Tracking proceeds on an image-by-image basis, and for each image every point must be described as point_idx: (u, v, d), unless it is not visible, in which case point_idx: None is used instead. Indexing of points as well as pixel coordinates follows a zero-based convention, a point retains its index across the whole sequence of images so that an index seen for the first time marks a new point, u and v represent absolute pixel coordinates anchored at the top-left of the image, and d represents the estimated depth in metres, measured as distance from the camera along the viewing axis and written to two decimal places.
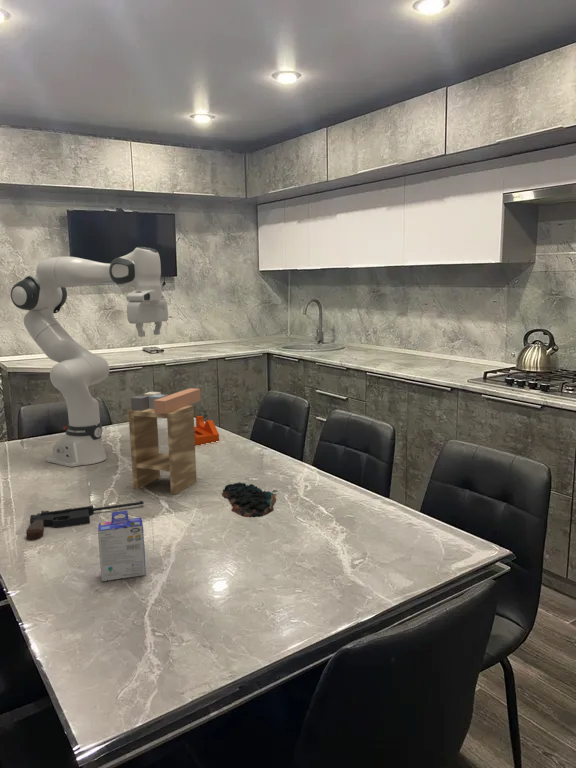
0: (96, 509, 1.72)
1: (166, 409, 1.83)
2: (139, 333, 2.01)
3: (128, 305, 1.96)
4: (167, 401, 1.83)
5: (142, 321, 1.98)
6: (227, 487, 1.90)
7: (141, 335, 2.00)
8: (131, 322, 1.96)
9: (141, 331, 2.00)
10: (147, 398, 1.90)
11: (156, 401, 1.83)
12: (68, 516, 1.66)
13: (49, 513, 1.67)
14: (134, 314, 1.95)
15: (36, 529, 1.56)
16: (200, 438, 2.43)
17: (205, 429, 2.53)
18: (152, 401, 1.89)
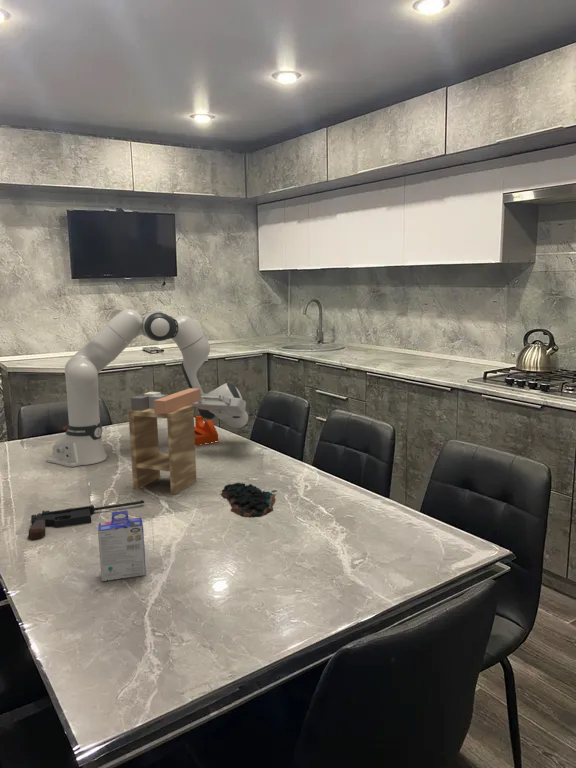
0: (97, 508, 1.73)
1: (166, 409, 1.83)
2: (223, 397, 2.15)
3: None
4: (167, 401, 1.83)
5: (230, 407, 2.18)
6: (226, 487, 1.90)
7: (222, 399, 2.15)
8: (238, 401, 2.17)
9: (224, 400, 2.16)
10: (147, 398, 1.90)
11: (156, 401, 1.83)
12: (69, 516, 1.66)
13: (50, 513, 1.67)
14: (241, 407, 2.19)
15: (38, 529, 1.56)
16: (199, 438, 2.43)
17: (204, 429, 2.53)
18: (152, 401, 1.89)
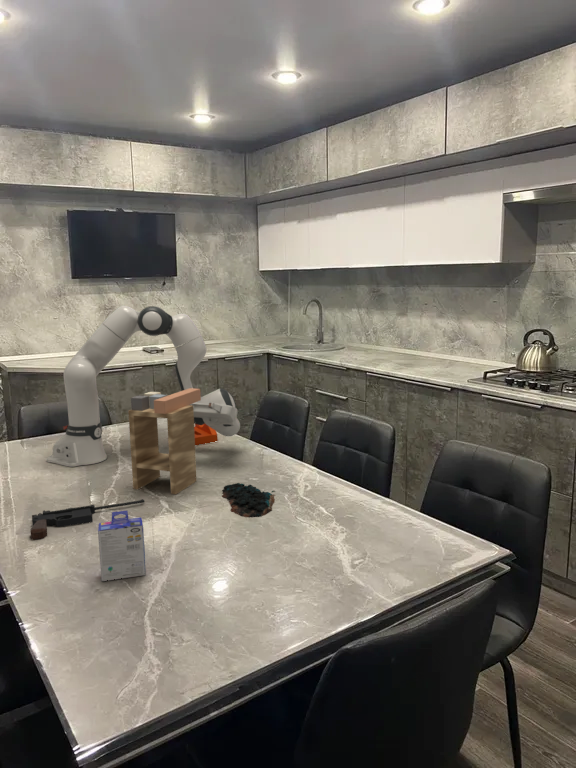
0: (97, 508, 1.73)
1: (166, 409, 1.83)
2: (214, 404, 2.05)
3: (235, 410, 2.12)
4: (167, 401, 1.83)
5: (220, 414, 2.07)
6: (226, 488, 1.90)
7: (212, 406, 2.04)
8: (229, 409, 2.07)
9: (214, 408, 2.05)
10: (147, 398, 1.90)
11: (156, 401, 1.83)
12: (70, 515, 1.66)
13: (51, 513, 1.67)
14: (232, 415, 2.08)
15: (40, 529, 1.56)
16: (198, 438, 2.43)
17: (204, 429, 2.53)
18: (152, 401, 1.89)
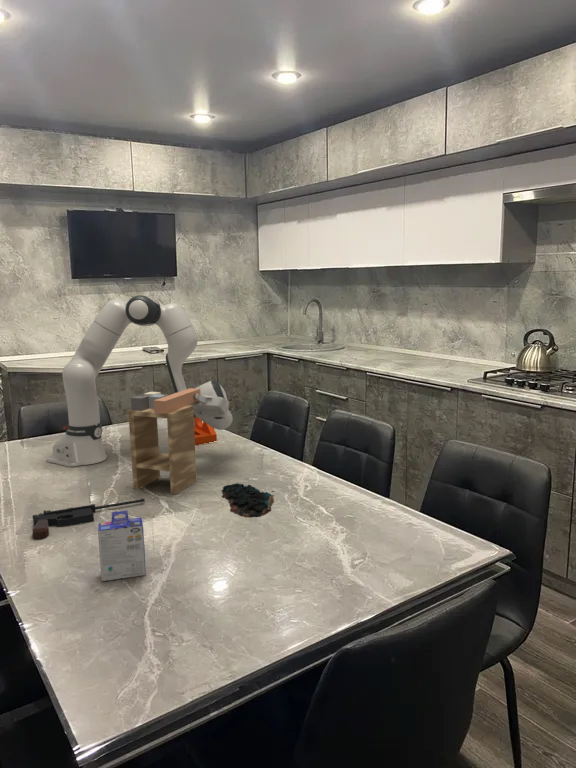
0: (98, 507, 1.73)
1: (166, 409, 1.83)
2: (198, 396, 1.99)
3: (227, 402, 2.05)
4: (167, 401, 1.83)
5: (211, 406, 2.00)
6: (225, 488, 1.90)
7: (197, 397, 1.98)
8: (220, 400, 2.00)
9: (199, 399, 1.99)
10: (147, 398, 1.90)
11: (156, 401, 1.83)
12: (72, 515, 1.67)
13: (52, 512, 1.67)
14: (223, 407, 2.01)
15: (42, 528, 1.56)
16: (197, 438, 2.43)
17: (203, 429, 2.53)
18: (152, 401, 1.89)
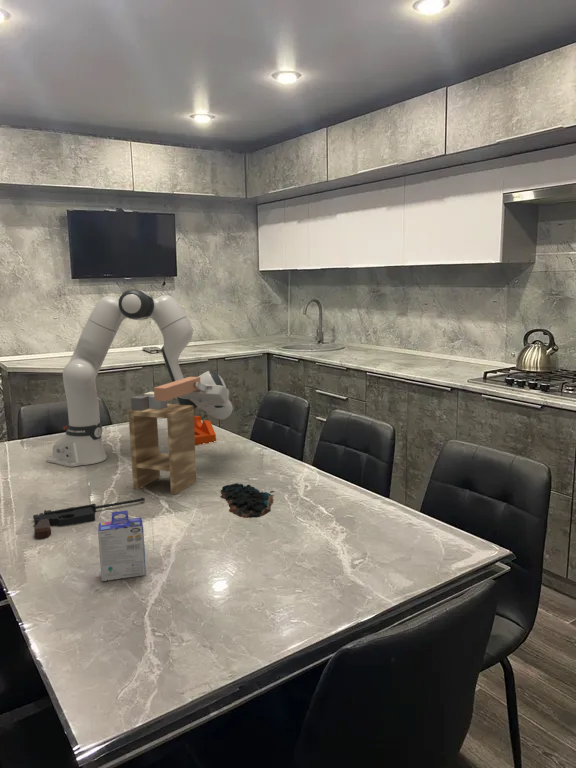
0: (98, 507, 1.74)
1: (166, 396, 1.82)
2: (199, 384, 1.98)
3: (227, 391, 2.05)
4: (167, 388, 1.83)
5: (211, 395, 2.00)
6: (224, 488, 1.90)
7: (197, 385, 1.97)
8: (220, 389, 1.99)
9: (199, 387, 1.98)
10: (147, 398, 1.90)
11: (156, 388, 1.83)
12: (73, 514, 1.67)
13: (53, 512, 1.67)
14: (223, 395, 2.01)
15: (44, 528, 1.57)
16: (197, 438, 2.43)
17: (202, 429, 2.53)
18: (152, 401, 1.89)
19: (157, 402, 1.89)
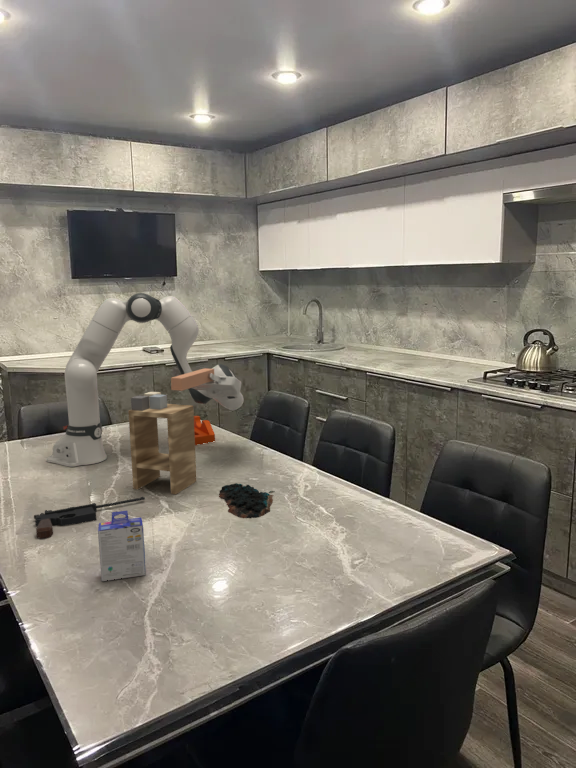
0: (99, 506, 1.74)
1: (182, 386, 1.91)
2: (213, 375, 2.07)
3: (239, 382, 2.14)
4: (184, 379, 1.92)
5: (225, 386, 2.09)
6: (224, 488, 1.90)
7: (211, 377, 2.06)
8: (233, 380, 2.08)
9: (213, 378, 2.07)
10: (147, 398, 1.90)
11: (173, 378, 1.92)
12: (74, 514, 1.67)
13: (53, 512, 1.67)
14: (236, 386, 2.10)
15: (47, 527, 1.57)
16: (196, 438, 2.43)
17: (201, 429, 2.53)
18: (152, 401, 1.89)
19: (157, 402, 1.89)
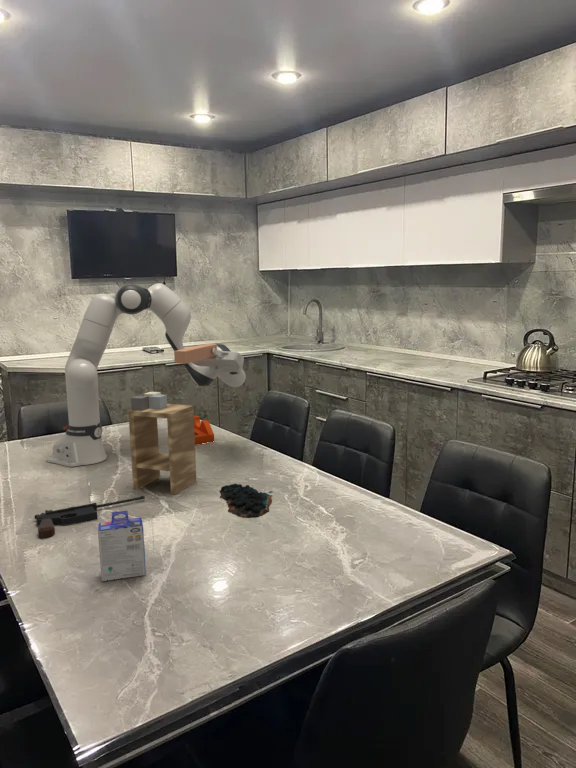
0: (99, 506, 1.75)
1: (186, 359, 1.92)
2: (215, 350, 2.08)
3: (242, 358, 2.15)
4: (187, 352, 1.93)
5: (227, 361, 2.10)
6: (223, 488, 1.90)
7: (214, 351, 2.07)
8: (236, 355, 2.09)
9: (216, 353, 2.08)
10: (147, 398, 1.90)
11: (176, 352, 1.92)
12: (75, 514, 1.68)
13: (54, 512, 1.68)
14: (238, 361, 2.11)
15: (49, 527, 1.57)
16: (195, 438, 2.43)
17: (201, 429, 2.53)
18: (152, 401, 1.89)
19: (157, 402, 1.89)
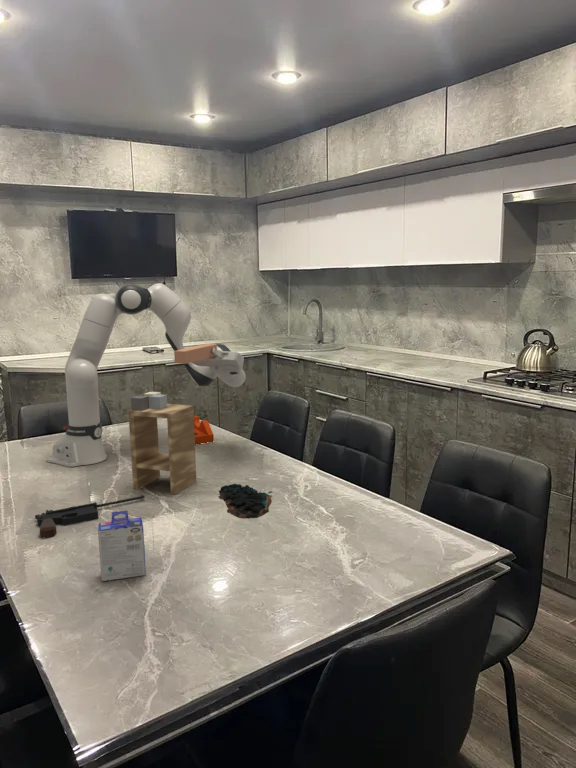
0: (100, 505, 1.75)
1: (186, 359, 1.92)
2: (215, 350, 2.08)
3: (242, 358, 2.15)
4: (187, 352, 1.93)
5: (227, 361, 2.10)
6: (223, 488, 1.89)
7: (214, 351, 2.07)
8: (236, 355, 2.09)
9: (216, 353, 2.08)
10: (147, 398, 1.90)
11: (176, 352, 1.92)
12: (75, 513, 1.68)
13: (55, 512, 1.68)
14: (238, 361, 2.11)
15: (50, 527, 1.57)
16: None
17: (200, 429, 2.53)
18: (152, 401, 1.89)
19: (157, 402, 1.89)
